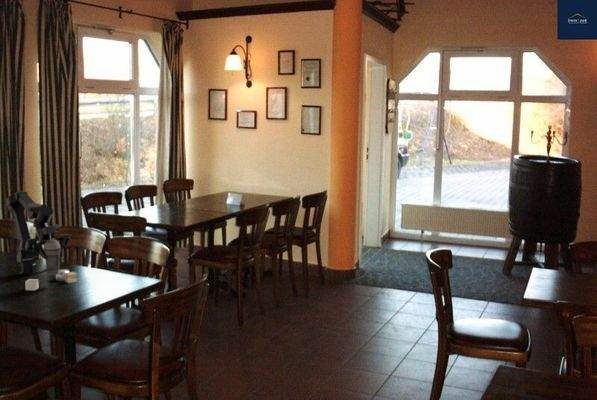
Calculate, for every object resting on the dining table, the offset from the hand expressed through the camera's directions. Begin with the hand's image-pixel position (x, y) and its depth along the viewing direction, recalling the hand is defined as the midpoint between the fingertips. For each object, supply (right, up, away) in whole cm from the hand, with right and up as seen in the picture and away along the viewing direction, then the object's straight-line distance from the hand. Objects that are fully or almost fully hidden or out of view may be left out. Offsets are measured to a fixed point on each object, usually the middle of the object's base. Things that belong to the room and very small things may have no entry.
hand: (53, 257), depth 285 cm
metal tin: (-2, -11, +15) cm, 19 cm away
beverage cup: (-1, -8, +2) cm, 8 cm away
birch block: (+4, -12, +11) cm, 17 cm away
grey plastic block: (-9, -14, -1) cm, 16 cm away
